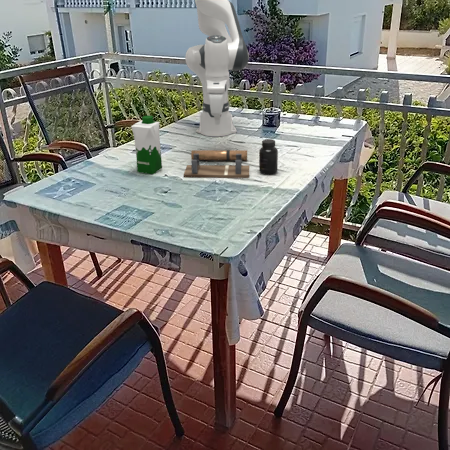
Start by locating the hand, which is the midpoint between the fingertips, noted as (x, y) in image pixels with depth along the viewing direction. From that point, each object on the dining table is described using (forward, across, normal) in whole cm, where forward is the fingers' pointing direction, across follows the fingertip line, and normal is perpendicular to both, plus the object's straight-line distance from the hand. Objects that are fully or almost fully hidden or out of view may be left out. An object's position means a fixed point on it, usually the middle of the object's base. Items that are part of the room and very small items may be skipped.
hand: (218, 120), depth 181 cm
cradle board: (+16, +12, 0) cm, 20 cm away
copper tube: (+16, 0, 0) cm, 16 cm away
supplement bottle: (+17, +11, +19) cm, 27 cm away
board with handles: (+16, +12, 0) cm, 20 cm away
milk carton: (+17, +10, -26) cm, 32 cm away
